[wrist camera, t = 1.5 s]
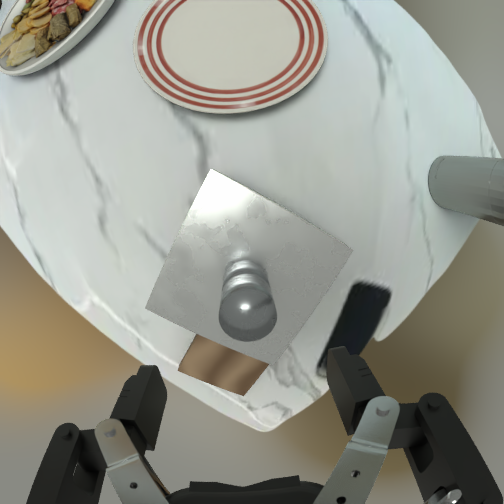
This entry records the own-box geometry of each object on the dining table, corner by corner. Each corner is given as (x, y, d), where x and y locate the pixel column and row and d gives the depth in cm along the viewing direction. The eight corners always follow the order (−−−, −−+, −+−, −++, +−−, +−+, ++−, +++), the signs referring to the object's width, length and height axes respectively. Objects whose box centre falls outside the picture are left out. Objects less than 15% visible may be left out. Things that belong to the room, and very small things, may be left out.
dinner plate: (163, -23, 26) (159, -33, 22) (327, -8, 28) (332, -18, 25) (123, 114, 33) (113, 110, 30) (312, 133, 35) (318, 129, 32)
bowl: (103, 63, 30) (80, 47, 23) (-7, 93, 28) (-31, 89, 20) (150, -53, 22) (140, -75, 14) (36, -16, 20) (20, -28, 12)
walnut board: (280, 342, 45) (281, 347, 43) (243, 390, 48) (243, 396, 46) (209, 311, 42) (208, 316, 41) (179, 365, 45) (177, 370, 44)
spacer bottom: (276, 273, 31) (281, 287, 27) (254, 308, 32) (256, 326, 28) (236, 252, 30) (236, 264, 26) (215, 290, 31) (212, 306, 27)
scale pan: (343, 243, 33) (353, 250, 30) (270, 351, 38) (273, 365, 34) (213, 169, 30) (210, 169, 27) (152, 296, 34) (145, 308, 31)
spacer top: (281, 288, 27) (288, 307, 23) (256, 326, 28) (258, 349, 24) (236, 264, 26) (235, 281, 22) (212, 306, 27) (208, 327, 23)
